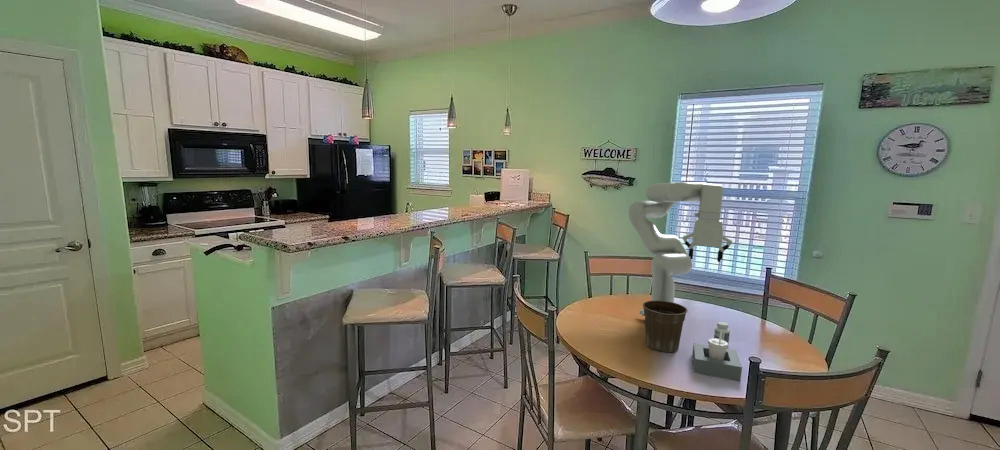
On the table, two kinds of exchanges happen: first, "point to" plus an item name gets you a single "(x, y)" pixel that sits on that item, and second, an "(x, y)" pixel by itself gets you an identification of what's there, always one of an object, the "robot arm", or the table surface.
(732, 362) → the socket
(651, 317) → the plant pot
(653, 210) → the robot arm
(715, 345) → the smoothie
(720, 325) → the pill bottle
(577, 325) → the table surface
